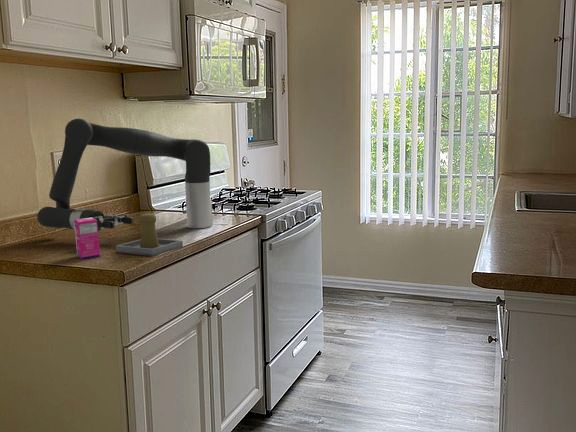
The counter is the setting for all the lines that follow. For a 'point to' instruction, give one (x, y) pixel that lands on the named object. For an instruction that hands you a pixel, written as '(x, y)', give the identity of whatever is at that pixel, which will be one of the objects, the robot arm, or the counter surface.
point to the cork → (148, 231)
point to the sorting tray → (135, 248)
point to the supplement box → (87, 238)
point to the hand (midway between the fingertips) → (123, 222)
